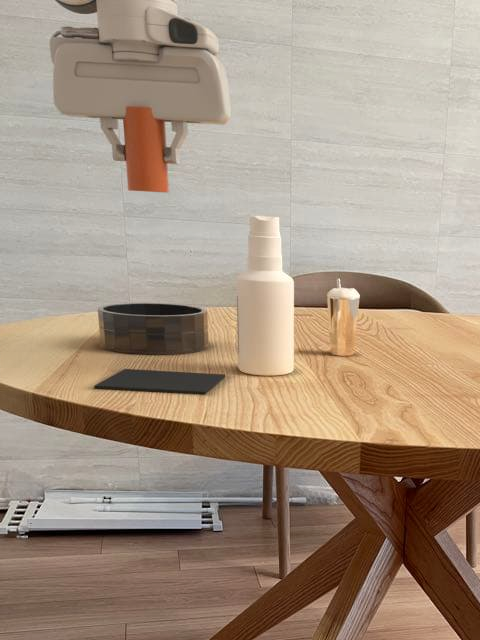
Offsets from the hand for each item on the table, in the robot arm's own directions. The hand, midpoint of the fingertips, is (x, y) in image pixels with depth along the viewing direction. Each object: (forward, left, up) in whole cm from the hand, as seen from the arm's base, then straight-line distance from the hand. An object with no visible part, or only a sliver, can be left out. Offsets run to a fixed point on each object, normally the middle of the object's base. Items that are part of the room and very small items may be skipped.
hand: (147, 162), depth 100 cm
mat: (+5, -16, -23) cm, 29 cm away
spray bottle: (+15, -6, -23) cm, 29 cm away
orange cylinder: (0, 0, -3) cm, 3 cm away
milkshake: (+23, +10, -23) cm, 34 cm away
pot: (-3, +8, -23) cm, 25 cm away
